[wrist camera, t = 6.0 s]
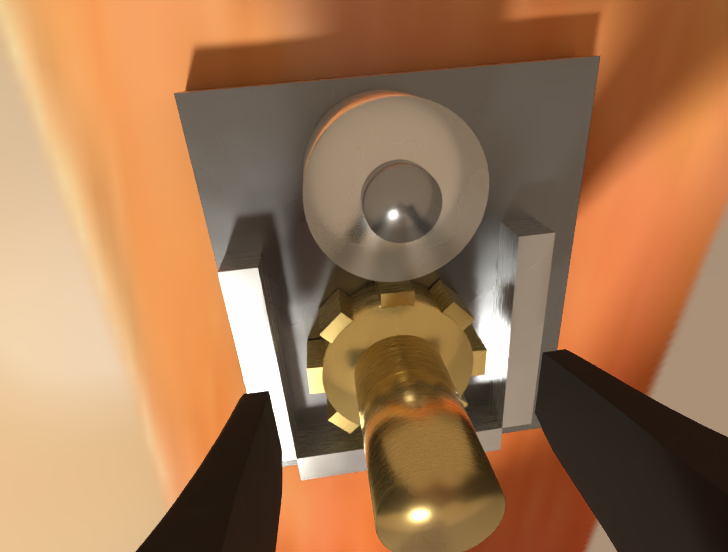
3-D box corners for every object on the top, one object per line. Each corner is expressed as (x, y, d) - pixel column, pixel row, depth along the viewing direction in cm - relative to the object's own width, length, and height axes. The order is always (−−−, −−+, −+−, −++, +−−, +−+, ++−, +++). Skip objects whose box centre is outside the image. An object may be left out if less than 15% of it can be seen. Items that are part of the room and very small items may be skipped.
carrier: (533, 408, 17) (594, 500, 14) (269, 447, 17) (259, 555, 13) (578, 56, 12) (700, 54, 8) (184, 91, 11) (124, 104, 7)
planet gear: (465, 397, 15) (549, 577, 10) (315, 414, 15) (319, 612, 10) (475, 262, 13) (592, 400, 8) (299, 277, 13) (292, 434, 7)
